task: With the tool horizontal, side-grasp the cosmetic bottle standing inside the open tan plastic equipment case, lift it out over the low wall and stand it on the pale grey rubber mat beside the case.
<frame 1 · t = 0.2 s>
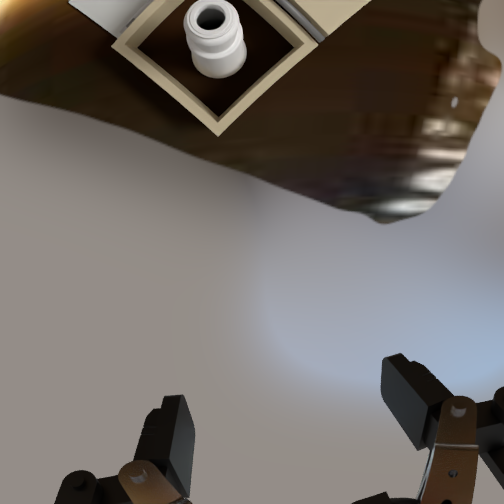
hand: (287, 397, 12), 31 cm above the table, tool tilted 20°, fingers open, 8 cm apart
case: (214, 43, 30), on the table
cosmetic bottle: (219, 53, 31), resting in case
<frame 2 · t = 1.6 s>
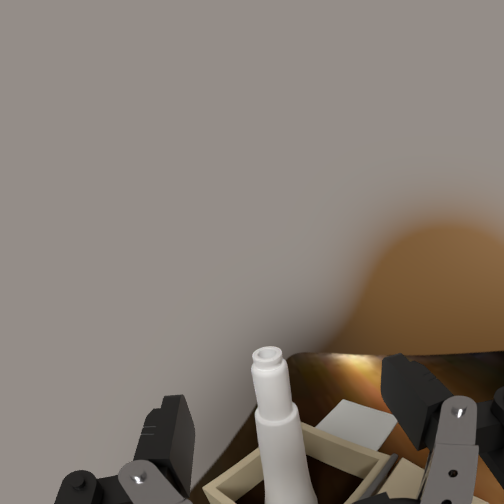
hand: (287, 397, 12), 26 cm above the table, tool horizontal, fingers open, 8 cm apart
case: (301, 500, 28), on the table
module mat: (353, 430, 38), on the table
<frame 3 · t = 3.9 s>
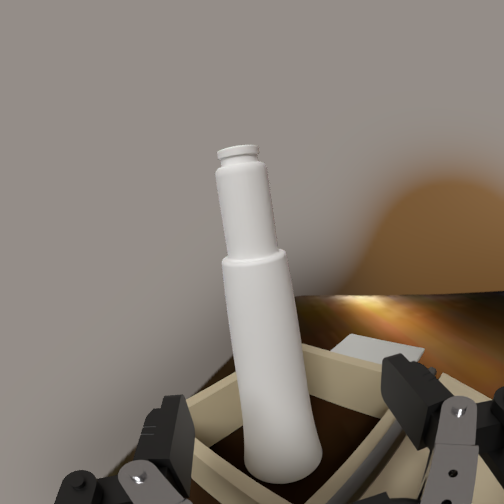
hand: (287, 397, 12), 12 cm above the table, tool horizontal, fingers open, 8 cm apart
case: (298, 450, 22), on the table
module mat: (366, 365, 32), on the table
lid: (482, 488, 10), point 3 cm above the table, hinge at 200.0°
cosmetic bottle: (283, 457, 21), resting in case
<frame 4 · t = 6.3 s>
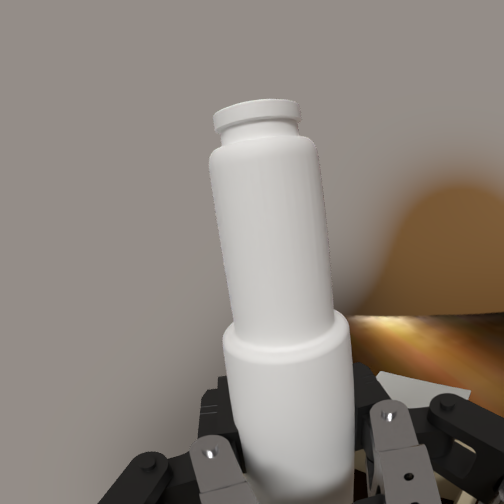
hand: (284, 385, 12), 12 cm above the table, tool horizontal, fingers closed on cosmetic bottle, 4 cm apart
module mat: (404, 416, 23), on the table
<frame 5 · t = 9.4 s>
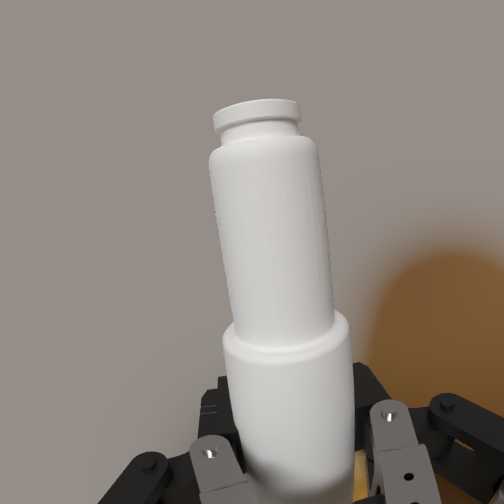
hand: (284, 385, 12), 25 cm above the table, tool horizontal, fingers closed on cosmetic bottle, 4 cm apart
when the fingers open (12 cm above the table, at t = 12.5 s): cosmetic bottle stays where it is, resting on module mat.
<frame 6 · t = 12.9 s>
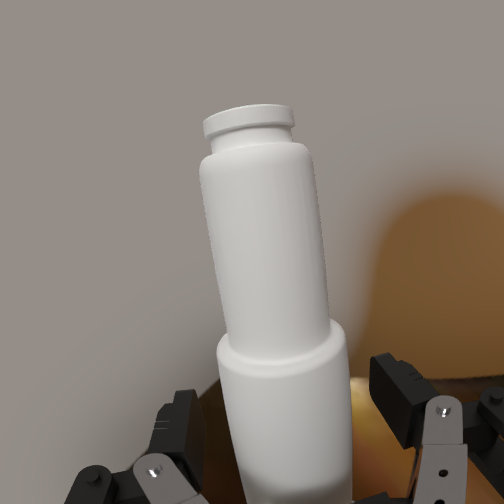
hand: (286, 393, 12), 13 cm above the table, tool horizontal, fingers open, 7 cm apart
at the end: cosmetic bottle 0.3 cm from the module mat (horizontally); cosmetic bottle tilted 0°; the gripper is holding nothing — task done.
